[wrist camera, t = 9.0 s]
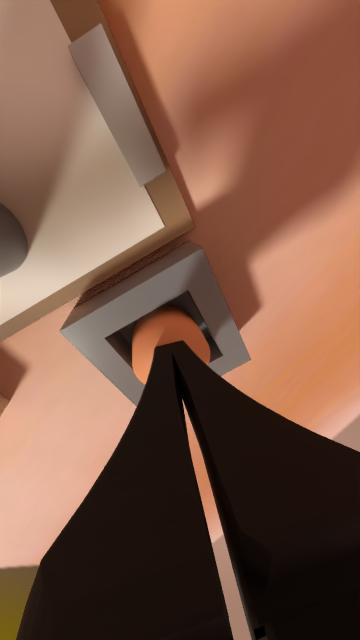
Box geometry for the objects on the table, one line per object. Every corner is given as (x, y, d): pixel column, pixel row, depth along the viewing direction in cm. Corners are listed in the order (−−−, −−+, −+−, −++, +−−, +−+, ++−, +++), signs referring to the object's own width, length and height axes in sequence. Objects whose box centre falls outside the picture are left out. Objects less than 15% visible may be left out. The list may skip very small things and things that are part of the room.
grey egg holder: (73, 308, 11) (59, 331, 9) (188, 240, 11) (202, 248, 8) (144, 386, 14) (146, 415, 12) (233, 337, 14) (251, 359, 12)
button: (118, 328, 11) (115, 353, 9) (179, 293, 10) (190, 311, 8) (154, 371, 12) (158, 400, 10) (207, 342, 12) (221, 367, 10)
